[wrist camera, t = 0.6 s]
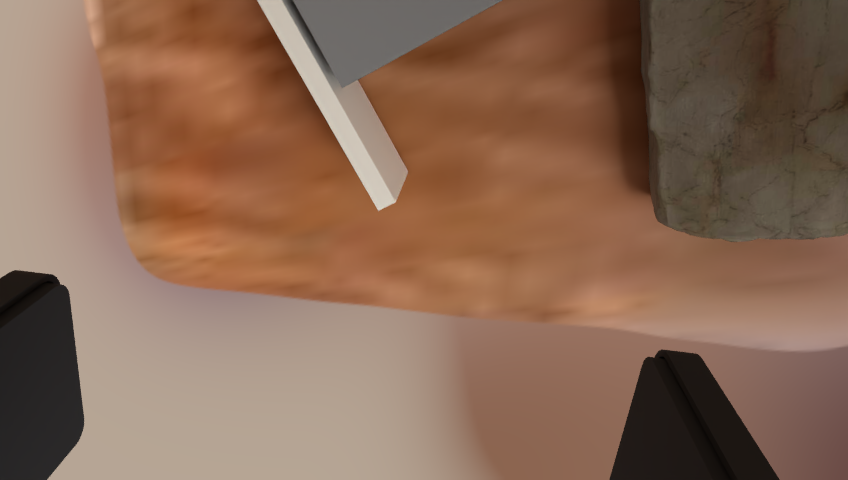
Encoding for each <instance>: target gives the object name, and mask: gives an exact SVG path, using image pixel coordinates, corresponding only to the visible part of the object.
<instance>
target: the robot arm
mask: <svg viewBox="0 0 848 480" xmlns="http://www.w3.org/2000/svg"><path fill="white" fill-rule="evenodd" d="M83 427H84V414H83V406H82V398H81V389H80V380H79V372H78V364H77V355H76V347H75V338H74V330H73V321H72V313H71V304H70V297H69V291H68V289H67V288H66V287H65V286H64V285H60V282H59V280H58V279H57V277H55V276H54V275H51V274H43V273H35V272H27V271H17V270H15V271H12V272H10V273H8V274H6V275H5V276H3V277H2V278H0V480H47V479H48V478H49V476H50V475H51V474H52V473H53V472H54V470H55V469H56V468H57V467H58V466H59V464H60V463H61V462H62V461H63V459H64V458H65V457H66V456H67V455H68V453H69V452H70V451H71V450H72V449H73V448H74V446H75V445H76V444H77V442H78V441H79V439H80V436H81V434H82V431H83ZM610 480H779V478H778V477H777V475H776V473H775V472H774V470H773V469H772V467H771V466H770V464H769V462H768V461H767V459H766V458H765V456H764V455H763V453H762V452H761V450H760V449H759V447H758V445H757V444H756V442H755V441H754V439H753V438H752V436H751V434H750V433H749V431H748V430H747V428H746V427H745V425H744V423H743V422H742V420H741V419H740V417H739V416H738V414H737V413H736V411H735V409H734V408H733V406H732V405H731V403H730V402H729V400H728V398H727V397H726V396H725V394H724V392H723V391H722V389H721V388H720V386H719V384H718V383H717V381H716V380H715V378H714V377H713V375H712V374H711V372H710V370H709V369H708V367H707V366H706V364H705V363H704V361H703V359H702V358H701V357H700V356H699V355H698V354H694V353H686V352H678V351H670V350H660V351H658V353H657V354H656V355H655V358H653V357H647V358H646V359H645V360H644V362H643V365H642V368H641V371H640V375H639V379H638V382H637V385H636V389H635V393H634V396H633V399H632V403H631V406H630V410H629V414H628V417H627V421H626V424H625V427H624V431H623V434H622V438H621V441H620V445H619V448H618V452H617V455H616V459H615V462H614V466H613V469H612V473H611V476H610Z"/></svg>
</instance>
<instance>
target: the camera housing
mask: <svg viewBox="0 0 848 480" xmlns="http://www.w3.org/2000/svg"><path fill="white" fill-rule="evenodd" d="M293 1H294V3H295V5H296V7H297V9H298V10H299V12H300V14H301V16H302V18H303V19H304V21H305V23H306V25H307V26H308V28H309V30H310V32H311V34H312V35H313V37H314V39H315V41H316V43H317V44H318V46H319V48H320V50H321V51H322V53H323V55H324V57H325V59H326V60H327V62H328V64H329V66H330V68H331V69H332V71H333V73H334V75H335V77H336V78H337V80H338V82H339V84H340V85H341V87H342V88H344V87H346V86H347V85H349V84H351V83H353V82H355V81H357V80H358V79H360V78H362V77H364V76H366V75H367V74H369V73H371V72H373V71H375V70H377V69H378V68H380V67H382V66H384V65H386V64H387V63H389V62H391V61H393V60H395V59H397V58H398V57H400V56H402V55H404V54H406V53H407V52H409V51H411V50H413V49H415V48H417V47H418V46H420V45H422V44H424V43H426V42H427V41H429V40H431V39H433V38H435V37H437V36H438V35H440V34H442V33H444V32H446V31H447V30H449V29H451V28H453V27H455V26H457V25H458V24H460V23H462V22H464V21H466V20H467V19H469V18H471V17H473V16H475V15H476V14H478V13H480V12H482V11H484V10H486V9H487V8H489V7H491V6H493V5H495V4H496V3H498V2H500V1H502V0H293Z"/></svg>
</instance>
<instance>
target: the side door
mask: <svg viewBox="0 0 848 480" xmlns="http://www.w3.org/2000/svg"><path fill="white" fill-rule="evenodd" d="M257 1H258V3H259V5H260V6H261V8H262V10H263V11H264V13H265V15H266V17H267V18H268V20H269V22H270V24H271V25H272V27H273V29H274V31H275V32H276V34H277V36H278V37H279V39H280V41H281V43H282V44H283V46H284V48H285V50H286V51H287V53H288V55H289V57H290V58H291V60H292V62H293V63H294V65H295V67H296V69H297V70H298V72H299V74H300V76H301V77H302V79H303V81H304V83H305V84H306V86H307V88H308V89H309V91H310V93H311V95H312V96H313V98H314V100H315V102H316V103H317V105H318V107H319V109H320V110H321V112H322V114H323V115H324V117H325V119H326V121H327V123H328V124H329V126H330V128H331V130H332V131H333V133H334V135H335V137H336V138H337V140H338V142H339V144H340V145H341V147H342V149H343V150H344V152H345V154H346V156H347V157H348V159H349V161H350V163H351V164H352V166H353V168H354V170H355V171H356V173H357V175H358V176H359V178H360V180H361V182H362V183H363V185H364V187H365V189H366V190H367V192H368V193H369V195H370V197H371V199H372V200H373V202H374V204H375V206H376V207H377V209H378V211H379V210H381V209H383V208H385V207H387V206H389V205H391V204H393V203H395V202H396V200H397V198H398V196H399V193H400V191H401V188H402V186H403V183H404V181H405V178H406V176H407V174H408V170H407V169H406V167H405V165H404V163H403V161H402V160H401V158H400V156H399V154H398V152H397V150H396V149H395V147H394V145H393V143H392V141H391V140H390V138H389V136H388V134H387V132H386V130H385V129H384V127H383V125H382V123H381V121H380V119H379V118H378V116H377V114H376V112H375V110H374V109H373V107H372V105H371V103H370V101H369V99H368V98H367V96H366V94H365V92H364V90H363V89H362V87H361V85H360V83H359V81H358V80H357V81H355V82H353V83H351V84H349V85H347V86H346V87H344V88H342V87H341V85H340V84H339V82H338V80H337V78H336V77H335V75H334V73H333V71H332V69H331V68H330V66H329V64H328V62H327V60H326V59H325V57H324V55H323V53H322V51H321V50H320V48H319V46H318V44H317V43H316V41H315V39H314V37H313V35H312V34H311V32H310V30H309V28H308V26H307V25H306V23H305V21H304V19H303V18H302V16H301V14H300V12H299V10H298V9H297V7H296V5H295V3H294V1H293V0H257Z"/></svg>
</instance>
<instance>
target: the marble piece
mask: <svg viewBox="0 0 848 480" xmlns="http://www.w3.org/2000/svg"><path fill="white" fill-rule="evenodd" d="M640 20H641V38H642V49H641V58H642V62H641V74H642V77H643V82H644V88H645V95H646V113H647V126H648V137H649V185H650V192H651V198H652V203H653V206H654V212H655V216H656V218H657V220H658V221H659V222H660V223H662V224H664V225H665V226H668V227H670V228H672V229H675V230H677V231H681V232H685V233H687V234H689V235H693V236H697V237H703V238H712V239H724V240H727V241H730V242H744V241H751V240H755V239H758V238H761V239H815V238H819V237H834V236H842V235H845V234H848V0H640Z"/></svg>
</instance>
